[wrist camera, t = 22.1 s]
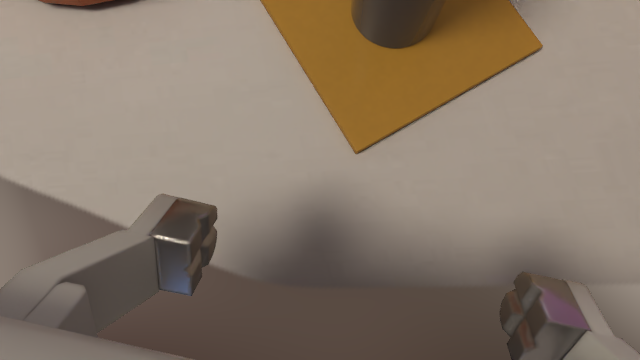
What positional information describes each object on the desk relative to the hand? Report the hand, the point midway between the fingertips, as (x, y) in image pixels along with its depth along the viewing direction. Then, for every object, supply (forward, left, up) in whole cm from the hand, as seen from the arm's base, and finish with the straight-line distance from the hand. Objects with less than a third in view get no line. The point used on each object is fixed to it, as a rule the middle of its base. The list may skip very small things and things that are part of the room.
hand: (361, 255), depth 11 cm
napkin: (+9, -8, -8) cm, 15 cm away
